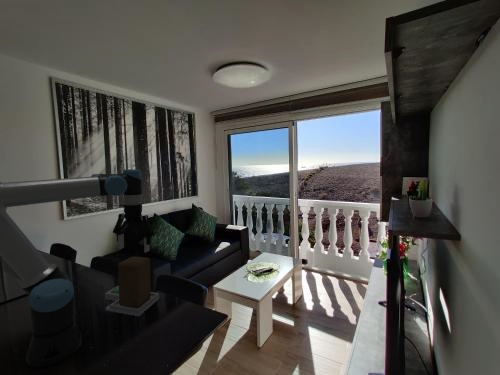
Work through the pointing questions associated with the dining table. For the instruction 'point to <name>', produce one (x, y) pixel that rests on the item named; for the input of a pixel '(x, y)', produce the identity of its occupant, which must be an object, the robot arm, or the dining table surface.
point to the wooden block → (134, 281)
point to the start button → (116, 290)
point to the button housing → (111, 295)
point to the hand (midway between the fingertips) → (133, 250)
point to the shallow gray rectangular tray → (133, 311)
